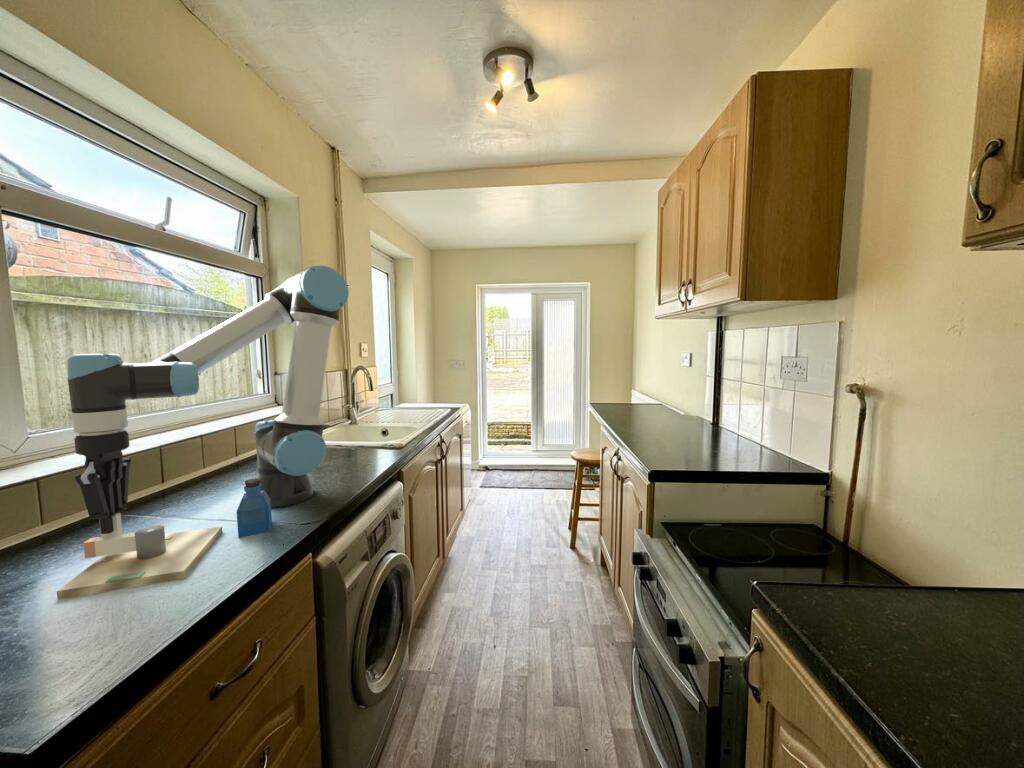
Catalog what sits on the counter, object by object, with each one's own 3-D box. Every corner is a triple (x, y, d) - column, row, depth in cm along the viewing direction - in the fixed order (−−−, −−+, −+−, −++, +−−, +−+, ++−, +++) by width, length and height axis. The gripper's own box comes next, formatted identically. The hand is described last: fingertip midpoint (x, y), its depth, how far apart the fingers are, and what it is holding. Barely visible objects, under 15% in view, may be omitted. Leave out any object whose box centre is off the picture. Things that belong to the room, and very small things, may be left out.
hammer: (170, 547, 84) (168, 523, 83) (159, 557, 79) (157, 532, 79) (96, 557, 80) (94, 533, 79) (81, 568, 76) (78, 543, 75)
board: (222, 532, 93) (221, 525, 93) (184, 578, 74) (183, 569, 74) (125, 546, 87) (124, 538, 87) (57, 599, 69) (56, 590, 68)
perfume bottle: (238, 538, 90) (234, 486, 89) (242, 527, 96) (238, 479, 95) (270, 532, 93) (266, 482, 92) (271, 522, 99) (268, 474, 98)
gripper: (99, 427, 84) (109, 535, 86) (51, 440, 72) (65, 565, 74) (143, 424, 87) (152, 529, 88) (104, 436, 74) (116, 558, 76)
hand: (113, 546), depth 81 cm, fingers closed
